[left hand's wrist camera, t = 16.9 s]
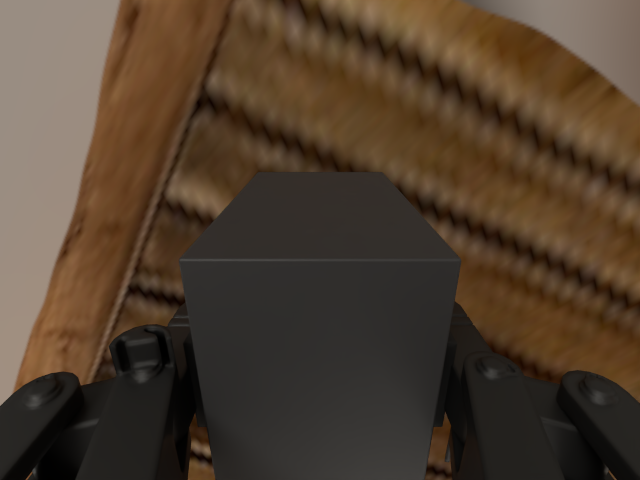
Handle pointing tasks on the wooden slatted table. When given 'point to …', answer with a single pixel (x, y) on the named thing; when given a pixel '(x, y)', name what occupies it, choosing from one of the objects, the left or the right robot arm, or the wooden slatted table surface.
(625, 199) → the wooden slatted table surface
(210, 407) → the bar
